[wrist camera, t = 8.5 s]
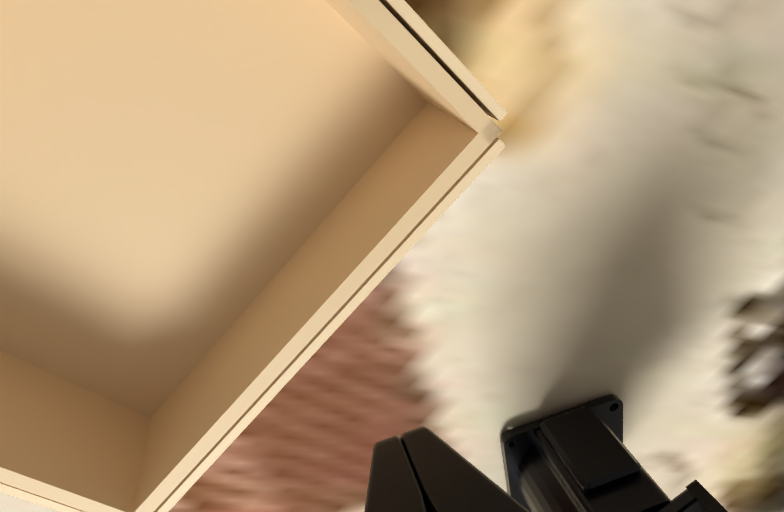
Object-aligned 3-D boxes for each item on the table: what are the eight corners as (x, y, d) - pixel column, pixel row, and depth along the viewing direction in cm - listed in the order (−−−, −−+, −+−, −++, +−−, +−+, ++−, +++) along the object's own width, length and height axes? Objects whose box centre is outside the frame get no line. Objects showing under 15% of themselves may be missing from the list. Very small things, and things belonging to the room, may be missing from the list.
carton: (459, 97, 20) (523, 128, 16) (156, 438, 23) (139, 544, 19) (107, -270, 14) (51, -386, 10) (-249, 261, 17) (-417, 358, 12)
